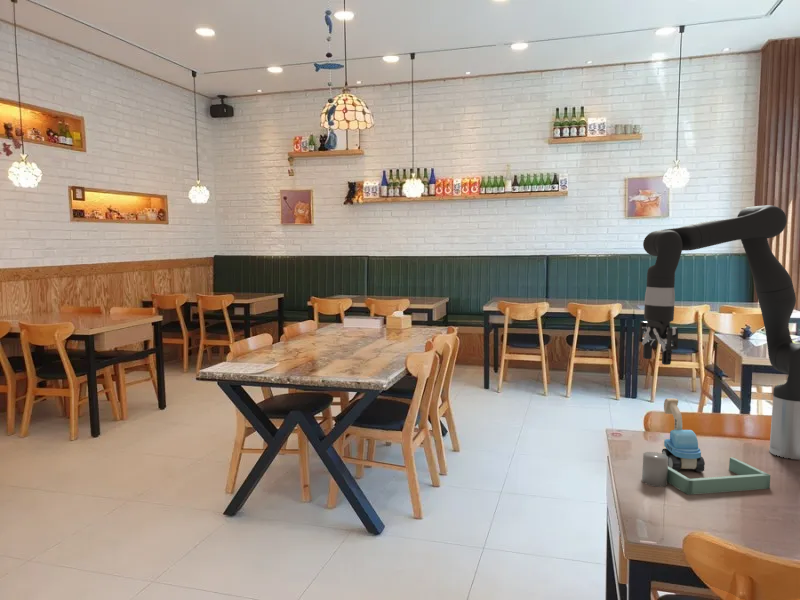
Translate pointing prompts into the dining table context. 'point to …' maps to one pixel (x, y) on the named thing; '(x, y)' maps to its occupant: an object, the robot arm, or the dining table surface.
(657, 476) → the grey upright cylinder
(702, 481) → the bay
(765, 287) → the robot arm
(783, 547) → the dining table surface
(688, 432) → the toy excavator
